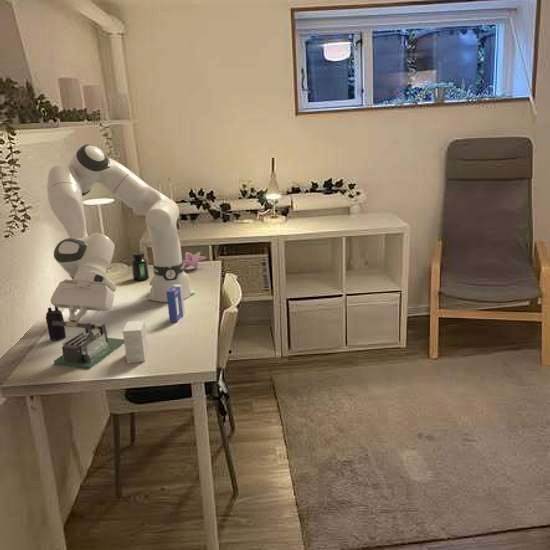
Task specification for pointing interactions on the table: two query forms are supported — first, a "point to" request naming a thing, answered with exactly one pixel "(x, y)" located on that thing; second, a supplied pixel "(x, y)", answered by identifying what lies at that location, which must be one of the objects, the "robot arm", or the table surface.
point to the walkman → (175, 303)
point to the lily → (192, 259)
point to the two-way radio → (54, 330)
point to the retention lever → (75, 325)
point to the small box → (135, 341)
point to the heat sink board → (88, 348)
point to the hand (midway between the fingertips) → (73, 321)
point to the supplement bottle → (139, 267)
